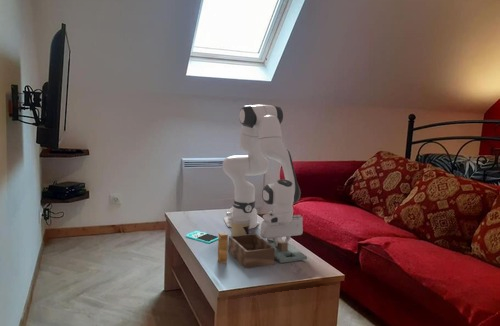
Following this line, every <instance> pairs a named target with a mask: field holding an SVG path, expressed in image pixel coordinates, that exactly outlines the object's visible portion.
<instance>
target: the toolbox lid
mask: <svg viewBox="0 0 500 326" xmlns="http://www.w3.org/2000/svg"><path fill="white" fill-rule="evenodd" d="M277 242H279V246H277V247H276V246H275V242H274V241H273V242H267V243H268V244H270V245H271V246H272V247H273V248H275V256H274V260H276V261H278V263H280V264H282V263H283V264H284V263H289V262H297V261H304V260H308V257H307V255H306V254H304V253H303V252H301V251H300V250H298V249H297V248H296V247H294V246H292V245H291V244H290V243H289V242H288V243H286V242H285V239H283V238H282V239H277ZM288 256H289V257H288Z"/></svg>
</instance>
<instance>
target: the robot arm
mask: <svg viewBox="0 0 500 326" xmlns="http://www.w3.org/2000/svg"><path fill="white" fill-rule="evenodd" d="M238 116H239V122H240V124H241V128H240V134H239V141H238V144H239V147H240V148H241V149H242V150H243V151H244V152H246V155H230V156H227V157H225V158H224V160H223V162H222V170H223V172H224V174H225V175H227V176H228V177H229V179H231V181H232V183H233V187H234V188H233V189H234V199H233V201H232V207H230V208H229V209H228V211H227V212H226V216H225V217H223V222H224V223H225V224H226V226H227V228H231V219H232V217H234V216H246V217H249V218H250V225H249V230H251V229H254V228H256V227H257V226H258V225H260V221H258V209H256V200H255V199H256V198H255V197H256V196H255V195H256V188H255V185H254V184H253V183H252V182H250V181H248V180H247V179H246V176H249V177H250V176H261V175H264V174H266V173H268V170H269V167H270V163H269V160H268V158H269V159H271V160H273V161H276V162H277V163H279V164H280V166H281V168H282V171H283V175H284V179H283V178H282V179H281V178H280V179H278V180H276V181H275V182H273V183H269V184H266V185H265V186H264V187H263V189H262V190H261V198H262V201H264V202H265V204H267V205H270V206H271V205H272V206H273V209H272V210H273V211H272V210H271V211H272V212H270V211H269V212H270V213H265V214H263V215H262V219H263V221H262V222H261V226H260V231H259V232H260V233H259V234H260V237H261V238H262V239H263V240H264V239H265V240H267V238H273V240H274V241H273V243H274V242H275V246H276V247H277V246H279V242H277V239H278V237H282V238H285V239H284V241H285V242H286V243H288V244H289V242H290V240H291V237H292V236H301V235H303V231H304V228H303V227H304V226H303V221H304V218H303V216H302V215H301V214H294V208H293V205H295V204H296V203H297V202H298V201H299V200H300V198H301V194H302V192H301V188H300V185H299V183H298V181H297V175H296V172H295V167H294V163H293V158H292V156H291V153H290V151H289V150H288V149H287V148H286V146H285V144H284V141H283V133H282V127H281V125H282V122H283V119H284V111H283V109H282V108H281V107H280V106H278V105H274V104H273V105H270V104H253V105H252V104H249V105H243V106H242V107H241V108H240V111H239V115H238Z"/></svg>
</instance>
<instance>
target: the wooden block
mask: <svg viewBox="0 0 500 326" xmlns="http://www.w3.org/2000/svg"><path fill="white" fill-rule="evenodd" d="M217 236H218V240H217V241H218V243H217V261H218V263H220V264H222V263H228V261H227V260H228V244H229V235H228V234H227V233H226V232H219V233H218V235H217Z"/></svg>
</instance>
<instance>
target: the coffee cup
mask: <svg viewBox="0 0 500 326" xmlns="http://www.w3.org/2000/svg"><path fill="white" fill-rule="evenodd" d="M249 225H250V218H249V217H246V216H234V217H232V219H231V227H230V228H231V229H230V230H231V231H230V232H231V236H236V235H246V234H250V233H249V232H250V229H249Z"/></svg>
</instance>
